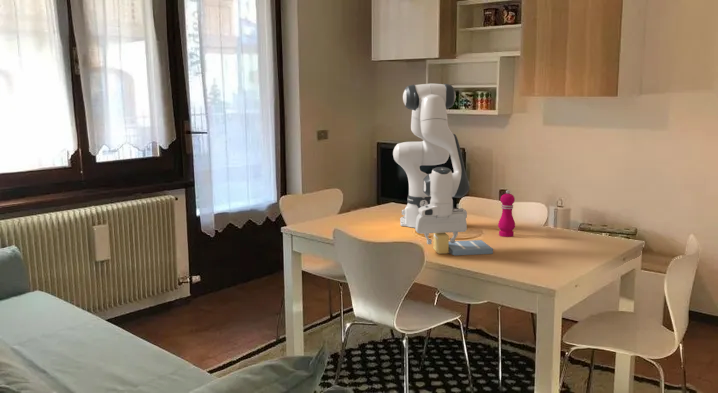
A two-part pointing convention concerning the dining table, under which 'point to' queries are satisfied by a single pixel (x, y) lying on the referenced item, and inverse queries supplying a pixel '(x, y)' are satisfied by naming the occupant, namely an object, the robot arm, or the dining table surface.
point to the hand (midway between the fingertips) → (440, 243)
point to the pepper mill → (506, 215)
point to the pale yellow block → (440, 242)
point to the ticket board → (469, 248)
